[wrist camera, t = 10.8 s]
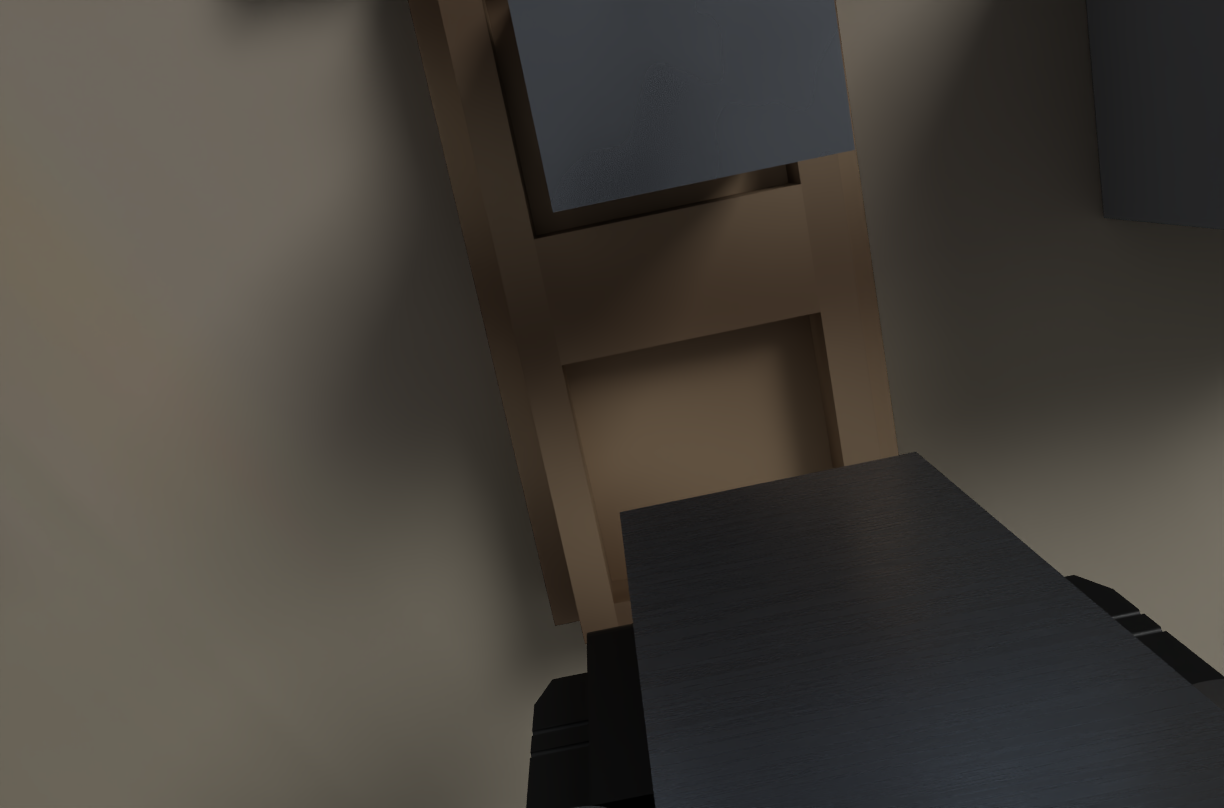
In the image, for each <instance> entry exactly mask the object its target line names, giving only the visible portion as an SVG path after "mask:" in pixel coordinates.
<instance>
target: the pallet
mask: <svg viewBox="0 0 1224 808" xmlns="http://www.w3.org/2000/svg"><path fill="white" fill-rule="evenodd" d="M834 2H835V9H836V17H837V24H838V31H839V38H840V45H841V53H842V60H843V67H844V74H845V81H846V88H847V96H848V103H849V110H850V117H851V124H852V132H853V139H854V146H855V150H852V151H847V152H842V153H837V154H833V155H828V156H823V157H818V158H813V159H809V160H804V161H799V162H794V163H789V164H785V165H780V166H775V167H770V168H765V169H760V170H756V171H751V172H746V173H741V174H736V175H732V176H727V177H722V178H717V179H712V180H708V181H703V182H698V183H693V184H688V185H683V186H679V187H674V188H669V189H664V190H659V191H655V192H650V193H645V194H640V195H635V196H631V197H626V198H621V199H616V200H611V201H606V202H602V203H597V204H592V205H587V206H582V207H578V208H573V209H568V210H563V211H558V212H554V213H553V210H552V206H551V201H550V196H549V192H548V187H547V182H546V177H545V173H544V168H543V163H542V159H541V154H540V149H539V145H538V140H537V135H536V130H535V126H534V121H533V116H532V112H531V107H530V102H529V98H528V93H527V88H526V84H525V79H524V74H523V69H522V65H521V60H520V55H519V51H518V46H517V41H516V37H515V32H514V27H513V22H512V18H511V13H510V8H509V4H508V0H408V3H409V8H410V12H411V16H412V20H413V24H414V29H415V33H416V37H417V41H418V46H419V50H420V54H421V58H422V63H423V67H424V71H425V75H426V80H427V84H428V88H429V92H430V97H431V101H432V105H433V109H434V114H435V118H436V122H437V126H438V131H439V135H440V139H441V143H442V148H443V152H444V156H445V160H446V165H447V169H448V173H449V177H450V182H451V186H452V190H453V194H454V199H455V203H456V207H457V211H458V216H459V220H460V224H461V228H462V233H463V237H464V241H465V245H466V250H467V254H468V258H469V262H470V266H471V271H472V275H473V279H474V283H475V288H476V292H477V296H478V300H479V305H480V309H481V313H482V317H483V322H484V326H485V330H486V334H487V339H488V343H489V347H490V351H491V356H492V360H493V364H494V368H495V373H496V377H497V381H498V385H499V390H500V394H501V398H502V402H503V407H504V411H505V415H506V419H507V424H508V428H509V432H510V436H511V441H512V445H513V449H514V453H515V458H516V462H517V466H518V470H519V475H520V479H521V483H522V487H523V492H524V496H525V500H526V504H527V509H528V513H529V517H530V521H531V525H532V530H533V534H534V538H535V542H536V547H537V551H538V555H539V559H540V564H541V568H542V572H543V576H544V581H545V585H546V589H547V593H548V598H549V602H550V606H551V610H552V615H553V619H554V623H555V626H557V625H562V624H567V623H572V622H576V621H580V624H581V628H582V632H583V637H584V641H585V644H587V633H588V632H593V631H598V630H603V629H608V628H612V627H617V626H622V625H627V624H632V623H633V619H632V611H631V602H630V594H629V586H628V578H627V570H626V561H625V553H624V545H623V537H622V529H621V520H620V512H623V511H628V510H633V509H638V508H643V507H647V506H652V505H657V504H662V503H667V502H672V501H677V500H682V499H687V498H692V497H697V496H701V495H706V494H711V493H716V492H721V491H726V490H731V489H736V488H741V487H746V486H751V485H755V484H760V483H765V482H770V481H775V480H780V479H785V478H790V477H795V476H800V475H805V474H809V473H814V472H819V471H824V470H829V469H834V468H839V467H844V466H849V465H854V464H859V463H863V462H868V461H873V460H878V459H883V458H888V457H893V456H898V455H899V454H898V447H897V440H896V432H895V425H894V418H893V411H892V404H891V396H890V389H889V382H888V375H887V368H886V360H885V353H884V346H883V339H882V332H881V324H880V317H879V310H878V303H877V296H876V288H875V281H874V274H873V267H872V260H871V252H870V245H869V238H868V231H867V224H866V216H865V209H864V202H863V195H862V188H861V180H860V173H859V166H858V159H857V152H856V144H855V137H854V130H853V123H852V116H851V108H850V101H849V94H848V87H847V80H846V72H845V65H844V58H843V51H842V44H841V36H840V29H839V22H838V15H837V8H836V0H834Z"/></svg>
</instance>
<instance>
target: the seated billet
mask: <svg viewBox="0 0 1224 808" xmlns="http://www.w3.org/2000/svg"><path fill="white" fill-rule="evenodd" d="M508 4H509V8H510V13H511V18H512V22H513V27H514V32H515V37H516V41H517V46H518V51H519V55H520V60H521V65H522V69H523V74H524V79H525V84H526V88H527V93H528V98H529V102H530V107H531V112H532V116H533V121H534V126H535V130H536V135H537V140H538V145H539V149H540V154H541V159H542V163H543V168H544V173H545V177H546V182H547V187H548V192H549V196H550V201H551V206H552V210H553V213H554V212H558V211H563V210H568V209H573V208H578V207H582V206H587V205H592V204H597V203H602V202H606V201H611V200H616V199H621V198H626V197H631V196H635V195H640V194H645V193H650V192H655V191H659V190H664V189H669V188H674V187H679V186H683V185H688V184H693V183H698V182H703V181H708V180H712V179H717V178H722V177H727V176H732V175H736V174H741V173H746V172H751V171H756V170H760V169H765V168H770V167H775V166H780V165H785V164H789V163H794V162H799V161H804V160H809V159H813V158H818V157H823V156H828V155H833V154H837V153H842V152H847V151H852V150H855V146H854V139H853V132H852V124H851V117H850V110H849V103H848V96H847V88H846V81H845V74H844V67H843V60H842V53H841V45H840V38H839V31H838V24H837V17H836V9H835V2H834V0H508Z"/></svg>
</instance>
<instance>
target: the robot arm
mask: <svg viewBox="0 0 1224 808" xmlns="http://www.w3.org/2000/svg"><path fill="white" fill-rule="evenodd" d="M1065 578H1066V579H1067V580H1069V581H1070V582H1071V583H1072V584H1073V585H1074V586H1076V587H1077V588H1078V589H1079V590H1080V591H1082V592H1083V593H1084V594H1085V595H1086V596H1087V597H1089V598H1090V599H1091V600H1092V601H1093V602H1095V603H1096V604H1097V605H1098V606H1099V607H1101V608H1102V609H1103V610H1104V611H1105V612H1106V613H1108V614H1109V615H1110V616H1111V617H1112V618H1114V619H1115V620H1116V621H1117V622H1118V623H1119V624H1121V625H1122V626H1123V627H1124V628H1125V629H1127V630H1128V631H1129V632H1130V633H1131V634H1132V635H1134V636H1135V637H1136V638H1137V639H1138V640H1140V641H1141V642H1142V643H1143V644H1144V645H1146V646H1147V647H1148V648H1149V649H1150V650H1151V651H1153V652H1154V653H1155V654H1156V655H1157V656H1159V657H1160V658H1161V659H1162V660H1163V661H1164V662H1166V663H1167V664H1168V665H1169V666H1170V667H1172V668H1173V669H1174V670H1175V671H1176V672H1178V673H1179V674H1180V675H1181V676H1182V677H1183V678H1185V679H1186V680H1187V681H1188V682H1189V683H1191V684H1192V685H1193V686H1194V687H1195V688H1196V689H1198V690H1199V691H1200V692H1201V693H1202V694H1204V695H1205V696H1206V697H1207V698H1208V699H1210V700H1211V701H1212V702H1213V703H1214V704H1215V705H1217V706H1218V707H1219V708H1220V709H1221V710H1223V711H1224V676H1223V675H1221V674H1220V673H1219V672H1217V671H1216V670H1215V669H1214V668H1212V667H1211V666H1210V665H1209V664H1207V663H1206V662H1205V661H1204V660H1202V659H1201V658H1200V657H1198V656H1197V655H1196V654H1195V653H1193V652H1192V651H1191V650H1190V649H1188V648H1187V647H1186V646H1185V645H1183V644H1182V643H1181V642H1179V641H1178V640H1177V639H1176V638H1174V637H1173V636H1172V635H1171V634H1169V633H1168V632H1167V631H1164V632H1162V630H1161V627H1160V626H1159V625H1158V624H1157V623H1155V622H1154V621H1153V620H1152V619H1150V618H1149V617H1148V616H1147V615H1145V614H1140V612H1139V609H1138V608H1136V607H1135V606H1134V605H1133V604H1131V603H1130V602H1129V601H1128V600H1126V599H1125V598H1124V597H1122V596H1121V595H1120V594H1119V593H1117V592H1116V591H1115V590H1114V589H1111V588H1109V587H1106V586H1103V585H1100V584H1098V583H1095V582H1092V581H1089V580H1087V579H1084V578H1081V577H1078V576H1076V575H1071V576H1066V577H1065ZM587 671H588V672H587V673H582V674H577V675H572V676H567V677H562V678H557V679H552V681H551V682H550V684H549V685H548V687H547V688H546V689H545V691H544V692H543V694H542V695H541V696H540V698H539V699H538V701H537V702H536V703H535V705H534V715H533V728H532V732H533V736H532V741H531V758H530V766H529V779H528V792H527V805H526V808H656V807H655V799H654V791H653V783H652V774H651V766H650V758H649V750H648V742H647V734H646V725H645V717H644V709H643V701H642V693H641V684H640V676H639V668H638V660H637V652H636V643H635V635H634V627H633V623H632V624H627V625H622V626H617V627H612V628H608V629H603V630H598V631H593V632H588V633H587Z"/></svg>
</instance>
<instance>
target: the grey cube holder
mask: <svg viewBox="0 0 1224 808" xmlns="http://www.w3.org/2000/svg"><path fill="white" fill-rule="evenodd" d="M1086 5H1087V17H1088V29H1089V41H1090V54H1091V66H1092V78H1093V90H1094V102H1095V114H1096V127H1097V139H1098V151H1099V163H1100V175H1101V187H1102V200H1103V212H1104V218H1110V219H1120V220H1131V221H1141V222H1151V223H1161V224H1172V225H1182V226H1192V227H1202V228H1213V229H1223V230H1224V0H1086Z"/></svg>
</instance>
